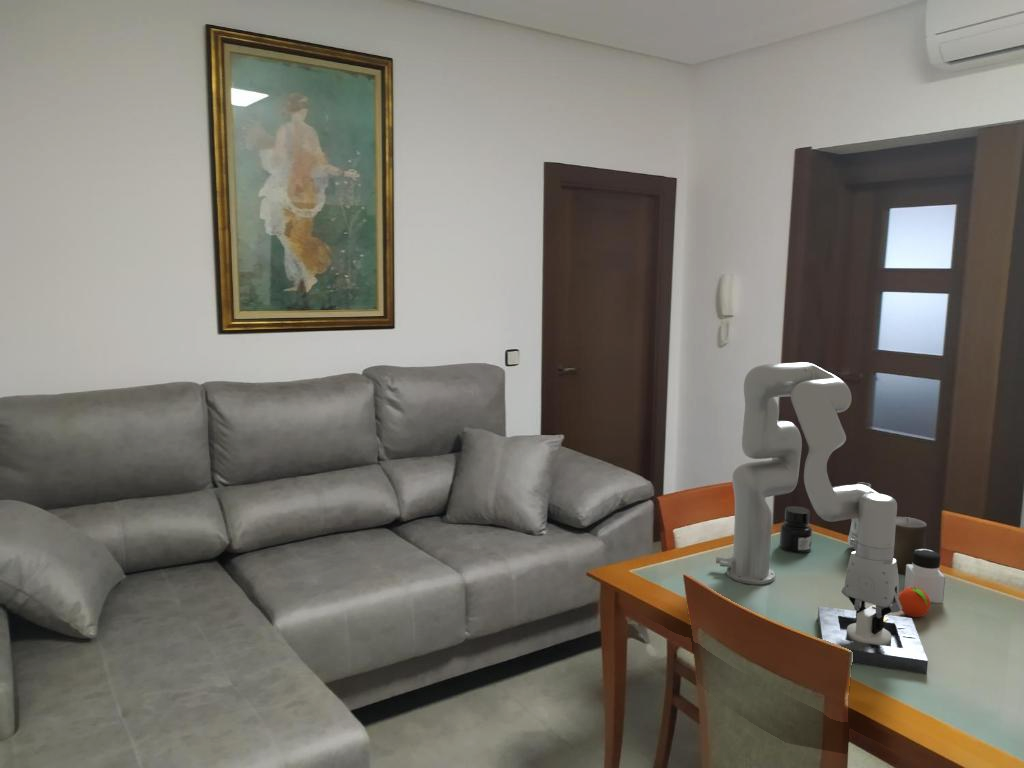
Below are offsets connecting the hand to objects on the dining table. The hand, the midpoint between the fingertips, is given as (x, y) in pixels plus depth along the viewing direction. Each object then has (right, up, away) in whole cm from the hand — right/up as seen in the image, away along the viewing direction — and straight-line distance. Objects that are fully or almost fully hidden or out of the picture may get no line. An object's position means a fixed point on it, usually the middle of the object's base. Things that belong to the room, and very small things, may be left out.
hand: (869, 628), depth 169 cm
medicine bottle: (+25, 0, +24) cm, 35 cm away
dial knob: (0, -2, 0) cm, 2 cm away
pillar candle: (+29, +3, +42) cm, 51 cm away
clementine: (+17, -2, +14) cm, 22 cm away
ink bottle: (+5, +5, +57) cm, 58 cm away
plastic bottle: (+24, +5, +56) cm, 61 cm away
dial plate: (0, -4, +1) cm, 4 cm away
